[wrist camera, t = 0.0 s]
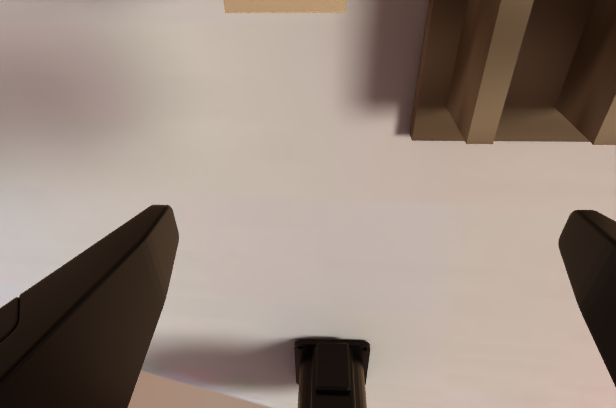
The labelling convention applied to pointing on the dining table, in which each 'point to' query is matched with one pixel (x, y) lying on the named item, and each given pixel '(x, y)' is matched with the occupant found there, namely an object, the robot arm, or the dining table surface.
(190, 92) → the dining table surface
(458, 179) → the dining table surface
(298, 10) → the tan rectangular block
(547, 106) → the slot rack
